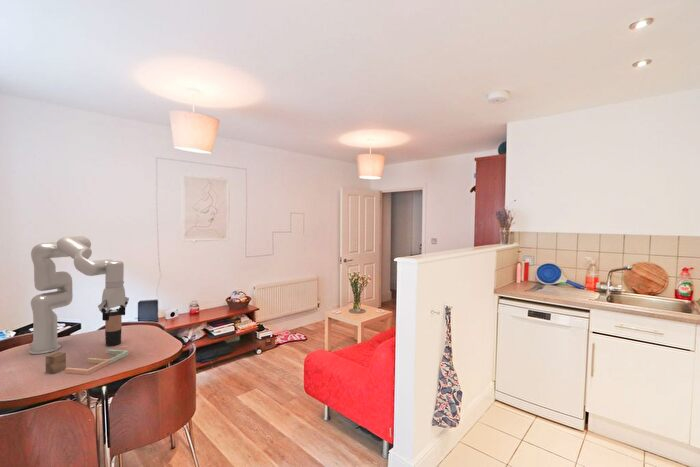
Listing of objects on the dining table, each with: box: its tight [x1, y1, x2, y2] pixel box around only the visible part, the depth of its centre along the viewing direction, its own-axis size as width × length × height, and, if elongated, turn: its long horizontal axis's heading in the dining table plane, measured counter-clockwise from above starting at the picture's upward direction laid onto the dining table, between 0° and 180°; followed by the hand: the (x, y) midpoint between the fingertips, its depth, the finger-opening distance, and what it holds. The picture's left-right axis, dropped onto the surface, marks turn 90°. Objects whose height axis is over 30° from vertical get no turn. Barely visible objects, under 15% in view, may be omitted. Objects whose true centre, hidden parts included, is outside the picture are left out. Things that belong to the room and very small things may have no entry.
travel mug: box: [104, 308, 123, 347], centre depth 183 cm, size 8×8×20 cm
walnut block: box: [45, 351, 67, 375], centre depth 150 cm, size 5×5×8 cm
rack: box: [64, 348, 130, 376], centre depth 159 cm, size 12×24×2 cm, turn 174°
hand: (114, 317), depth 163 cm, fingers open, 9 cm apart
